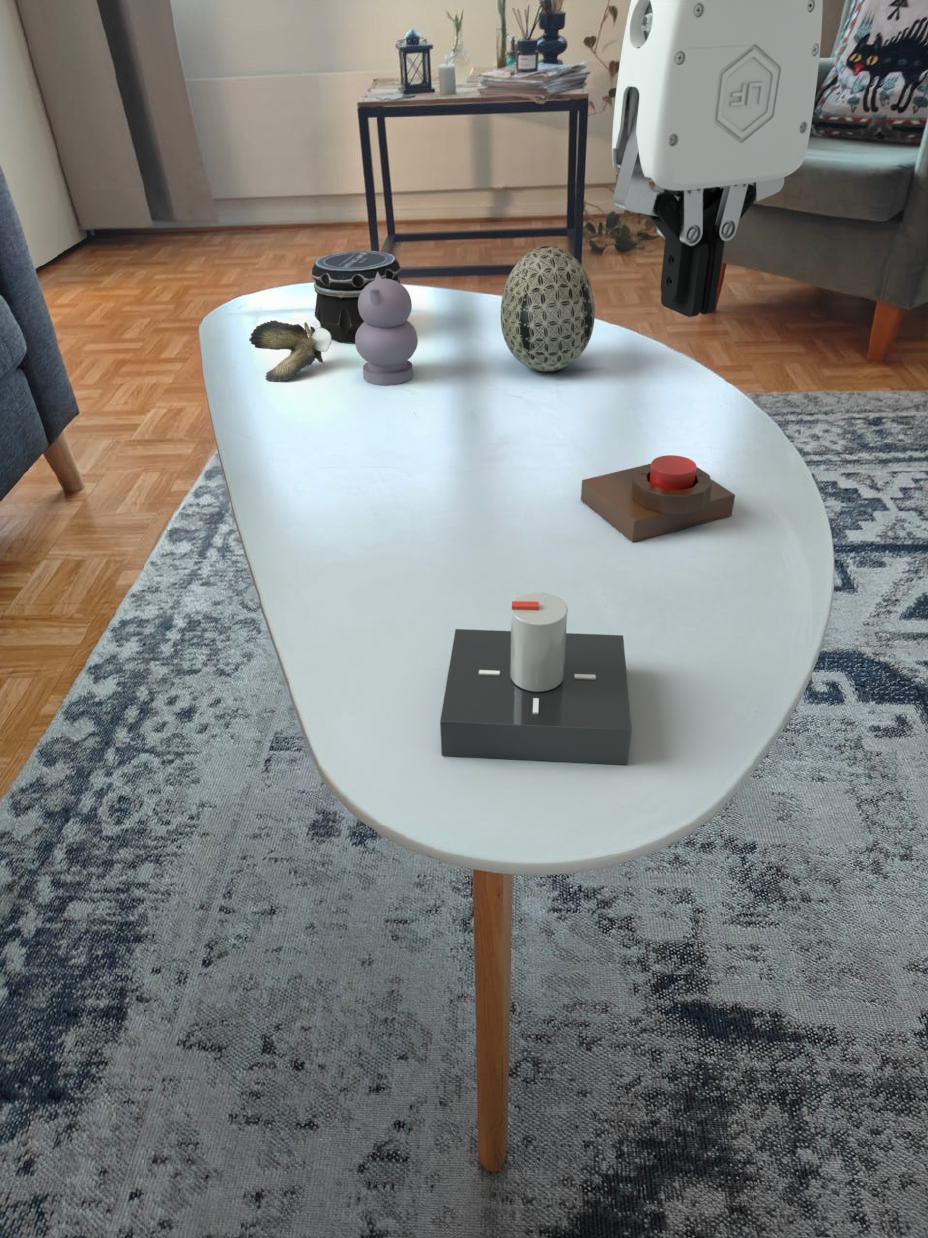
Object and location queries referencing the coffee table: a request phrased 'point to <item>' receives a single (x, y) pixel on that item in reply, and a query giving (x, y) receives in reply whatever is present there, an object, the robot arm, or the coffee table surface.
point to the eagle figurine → (291, 346)
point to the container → (347, 288)
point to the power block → (654, 502)
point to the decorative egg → (547, 309)
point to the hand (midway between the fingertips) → (686, 308)
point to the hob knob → (538, 641)
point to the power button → (673, 472)
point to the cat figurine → (386, 332)
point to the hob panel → (537, 703)
